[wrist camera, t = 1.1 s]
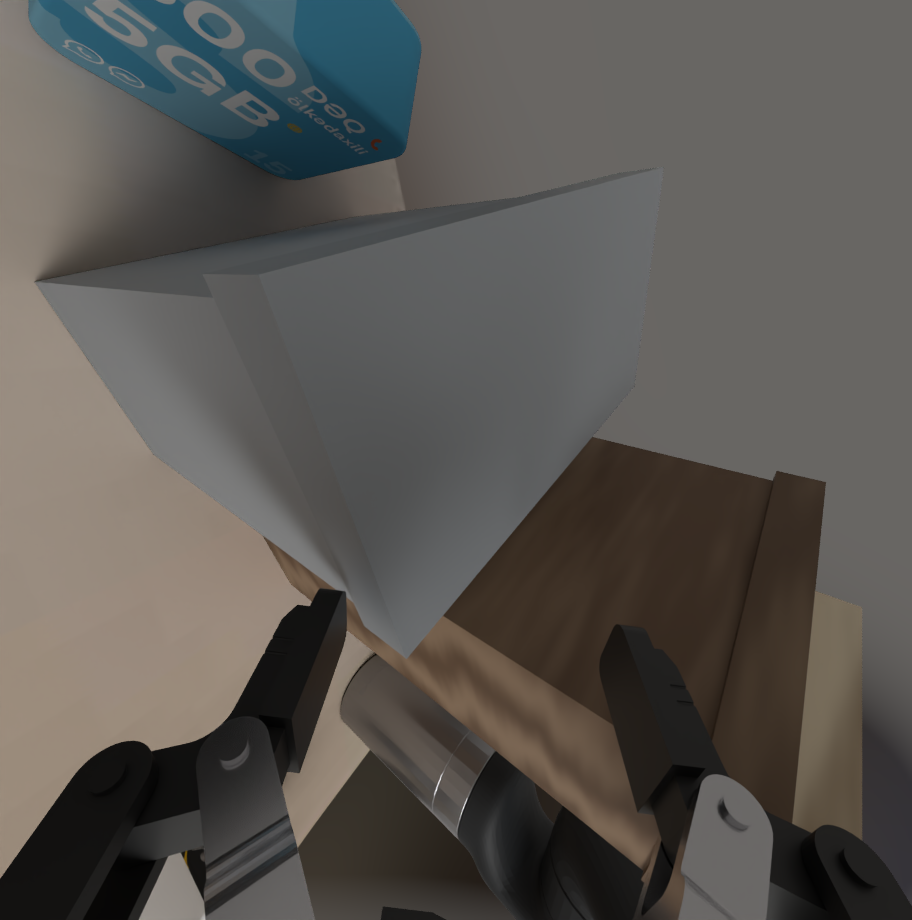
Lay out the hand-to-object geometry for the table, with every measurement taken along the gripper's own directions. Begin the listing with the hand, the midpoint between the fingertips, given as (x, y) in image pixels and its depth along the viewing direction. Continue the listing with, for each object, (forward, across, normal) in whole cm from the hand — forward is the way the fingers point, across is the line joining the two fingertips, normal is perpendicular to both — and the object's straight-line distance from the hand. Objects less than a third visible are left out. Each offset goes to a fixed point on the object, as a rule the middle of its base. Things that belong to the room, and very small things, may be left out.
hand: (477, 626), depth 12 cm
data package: (+19, -18, +16) cm, 31 cm away
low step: (+20, -16, +4) cm, 25 cm away
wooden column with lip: (+23, -11, -10) cm, 27 cm away
